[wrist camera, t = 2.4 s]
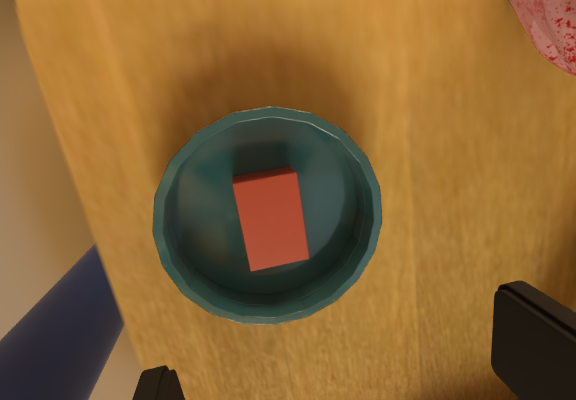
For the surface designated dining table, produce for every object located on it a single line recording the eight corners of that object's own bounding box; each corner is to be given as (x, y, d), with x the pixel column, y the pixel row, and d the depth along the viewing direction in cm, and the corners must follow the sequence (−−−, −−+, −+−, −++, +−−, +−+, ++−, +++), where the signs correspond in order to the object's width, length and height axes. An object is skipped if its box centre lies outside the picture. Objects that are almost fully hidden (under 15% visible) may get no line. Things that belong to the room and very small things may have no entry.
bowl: (192, 314, 25) (186, 346, 22) (138, 126, 21) (120, 130, 17) (368, 273, 27) (388, 297, 23) (352, 91, 22) (373, 89, 19)
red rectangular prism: (302, 244, 24) (309, 258, 22) (248, 255, 24) (250, 271, 21) (290, 165, 22) (296, 172, 20) (232, 176, 22) (232, 184, 20)
